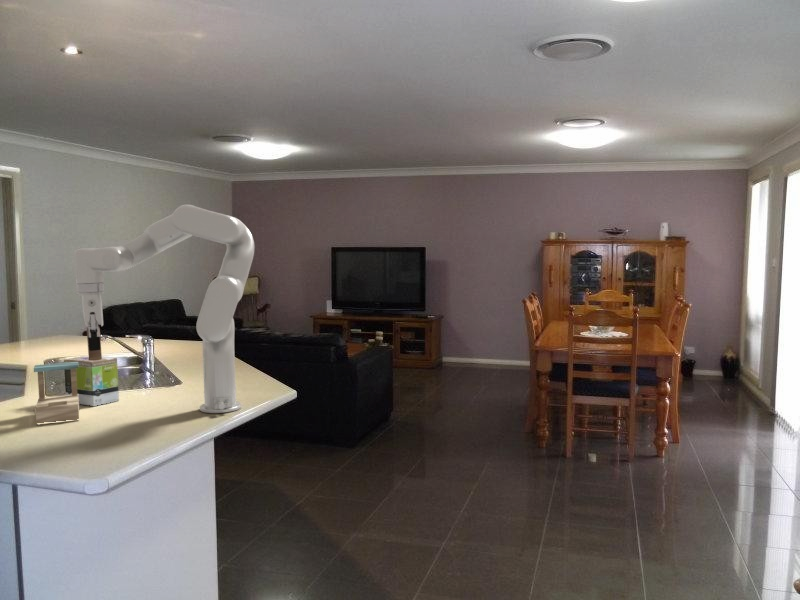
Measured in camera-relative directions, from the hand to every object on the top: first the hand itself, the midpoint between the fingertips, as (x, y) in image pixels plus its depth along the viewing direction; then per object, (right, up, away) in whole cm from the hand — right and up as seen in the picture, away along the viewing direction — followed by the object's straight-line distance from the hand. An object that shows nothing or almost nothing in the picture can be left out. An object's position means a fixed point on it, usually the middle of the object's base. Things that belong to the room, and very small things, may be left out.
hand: (94, 348), depth 202 cm
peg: (0, -3, 0) cm, 3 cm away
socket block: (-10, -21, -1) cm, 23 cm away
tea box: (-9, -19, +19) cm, 29 cm away
